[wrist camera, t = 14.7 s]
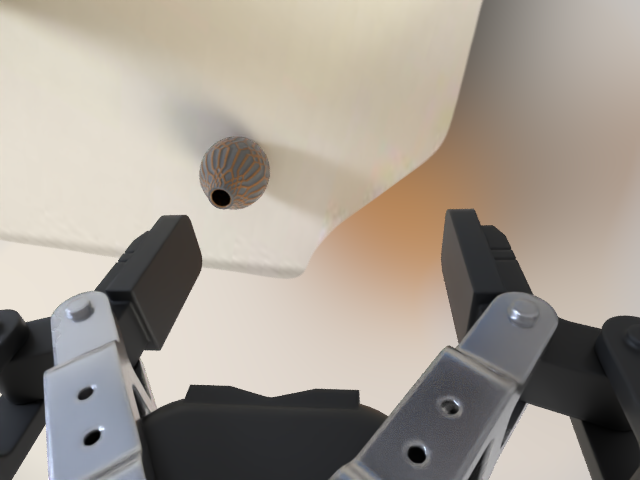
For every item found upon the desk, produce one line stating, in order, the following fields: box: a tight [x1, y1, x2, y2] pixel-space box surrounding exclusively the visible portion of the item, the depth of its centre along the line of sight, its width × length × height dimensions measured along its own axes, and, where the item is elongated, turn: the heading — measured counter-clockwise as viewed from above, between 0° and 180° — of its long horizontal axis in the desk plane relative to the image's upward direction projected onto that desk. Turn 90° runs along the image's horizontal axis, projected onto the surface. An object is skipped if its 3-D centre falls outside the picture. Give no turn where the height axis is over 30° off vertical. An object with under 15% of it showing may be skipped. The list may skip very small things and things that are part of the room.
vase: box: [199, 137, 270, 209], centre depth 41 cm, size 7×7×9 cm
